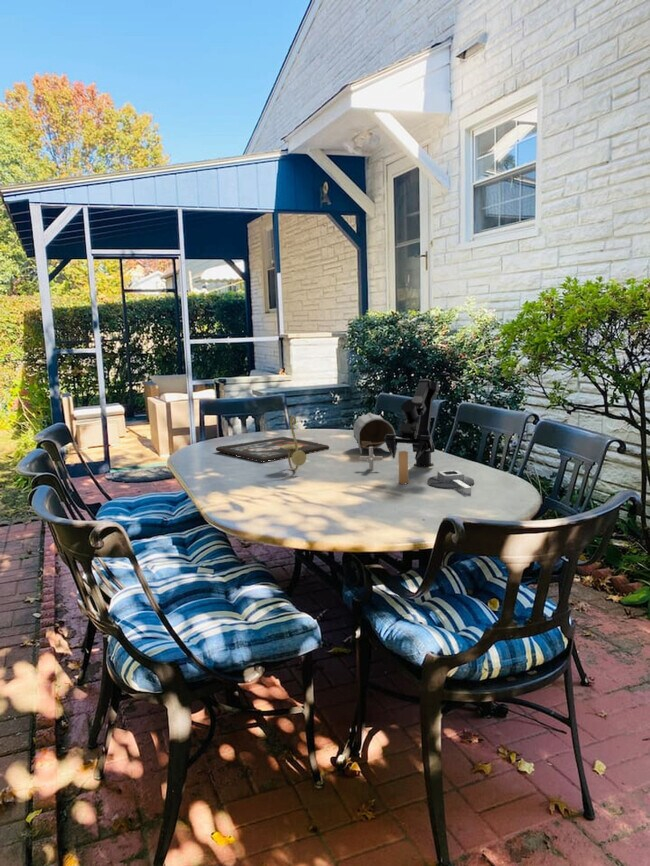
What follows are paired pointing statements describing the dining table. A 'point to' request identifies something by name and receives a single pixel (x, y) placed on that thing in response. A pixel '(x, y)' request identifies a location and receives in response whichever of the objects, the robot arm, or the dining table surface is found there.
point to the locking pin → (403, 467)
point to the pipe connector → (371, 458)
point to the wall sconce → (297, 456)
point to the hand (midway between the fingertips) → (404, 458)
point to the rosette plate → (452, 481)
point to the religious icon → (269, 448)
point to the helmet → (371, 431)
